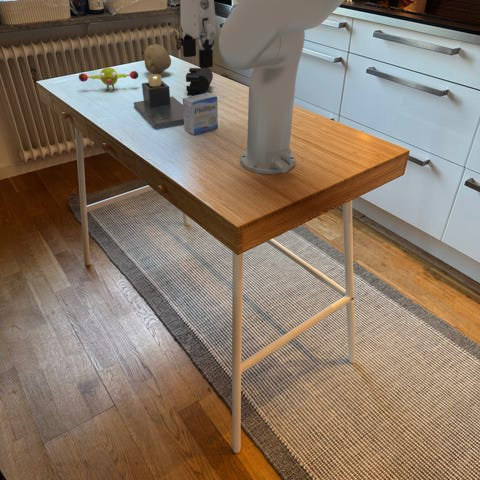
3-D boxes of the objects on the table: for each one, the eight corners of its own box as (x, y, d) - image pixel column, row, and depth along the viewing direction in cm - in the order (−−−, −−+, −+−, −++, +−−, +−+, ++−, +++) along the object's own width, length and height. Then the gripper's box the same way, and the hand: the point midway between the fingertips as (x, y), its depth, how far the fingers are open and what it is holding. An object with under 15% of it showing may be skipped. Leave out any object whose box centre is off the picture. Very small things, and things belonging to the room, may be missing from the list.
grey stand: (197, 122, 122) (196, 98, 118) (154, 129, 117) (152, 105, 113) (173, 101, 134) (171, 79, 131) (134, 107, 130) (131, 84, 126)
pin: (164, 94, 127) (162, 76, 124) (152, 96, 126) (150, 78, 123) (160, 91, 130) (158, 73, 127) (148, 92, 128) (146, 75, 125)
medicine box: (193, 135, 114) (192, 102, 109) (183, 130, 117) (182, 97, 112) (218, 128, 118) (218, 96, 113) (208, 123, 121) (207, 91, 116)
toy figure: (80, 94, 138) (76, 71, 134) (81, 88, 142) (77, 66, 138) (140, 91, 141) (137, 69, 137) (139, 85, 146) (137, 64, 142)
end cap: (209, 97, 138) (208, 75, 134) (186, 96, 138) (185, 74, 134) (213, 87, 146) (212, 65, 142) (191, 86, 146) (190, 64, 142)
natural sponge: (174, 71, 159) (172, 41, 153) (168, 79, 152) (166, 48, 146) (149, 70, 159) (146, 40, 153) (142, 78, 152) (139, 47, 146)
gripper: (228, -15, 93) (227, 70, 103) (195, -26, 105) (197, 51, 115) (195, -13, 90) (197, 73, 101) (165, -25, 102) (170, 54, 113)
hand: (197, 61), depth 108 cm, fingers open, 9 cm apart
